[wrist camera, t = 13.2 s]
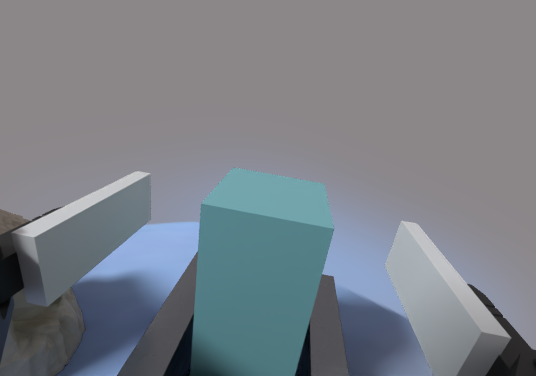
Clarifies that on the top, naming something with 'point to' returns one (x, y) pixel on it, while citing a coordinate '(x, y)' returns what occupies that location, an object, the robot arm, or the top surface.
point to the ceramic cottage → (39, 328)
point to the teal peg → (257, 273)
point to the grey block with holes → (181, 332)
